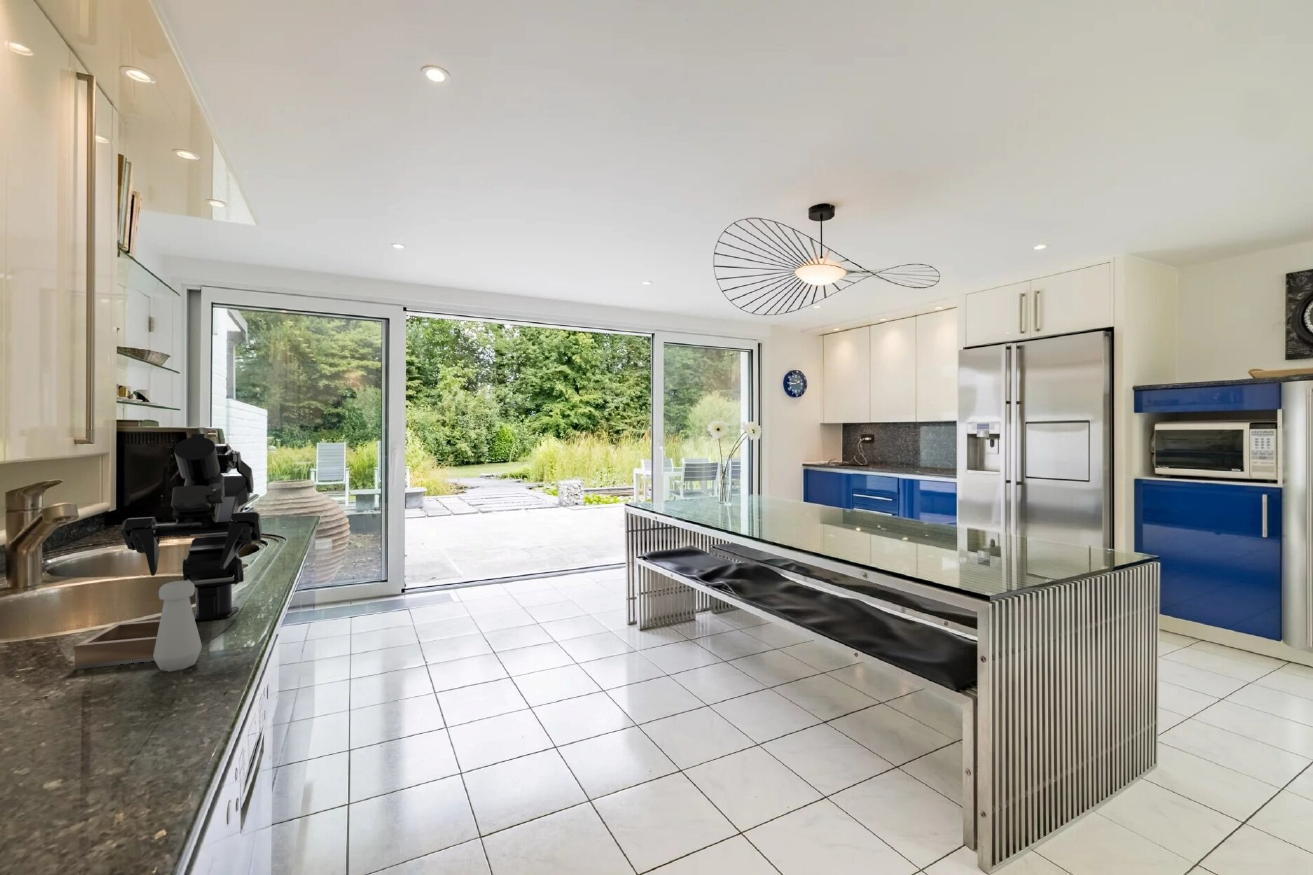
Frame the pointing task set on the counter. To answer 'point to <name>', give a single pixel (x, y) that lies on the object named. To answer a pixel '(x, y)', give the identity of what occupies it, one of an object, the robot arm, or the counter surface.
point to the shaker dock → (118, 645)
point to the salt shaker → (177, 628)
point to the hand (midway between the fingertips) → (188, 571)
